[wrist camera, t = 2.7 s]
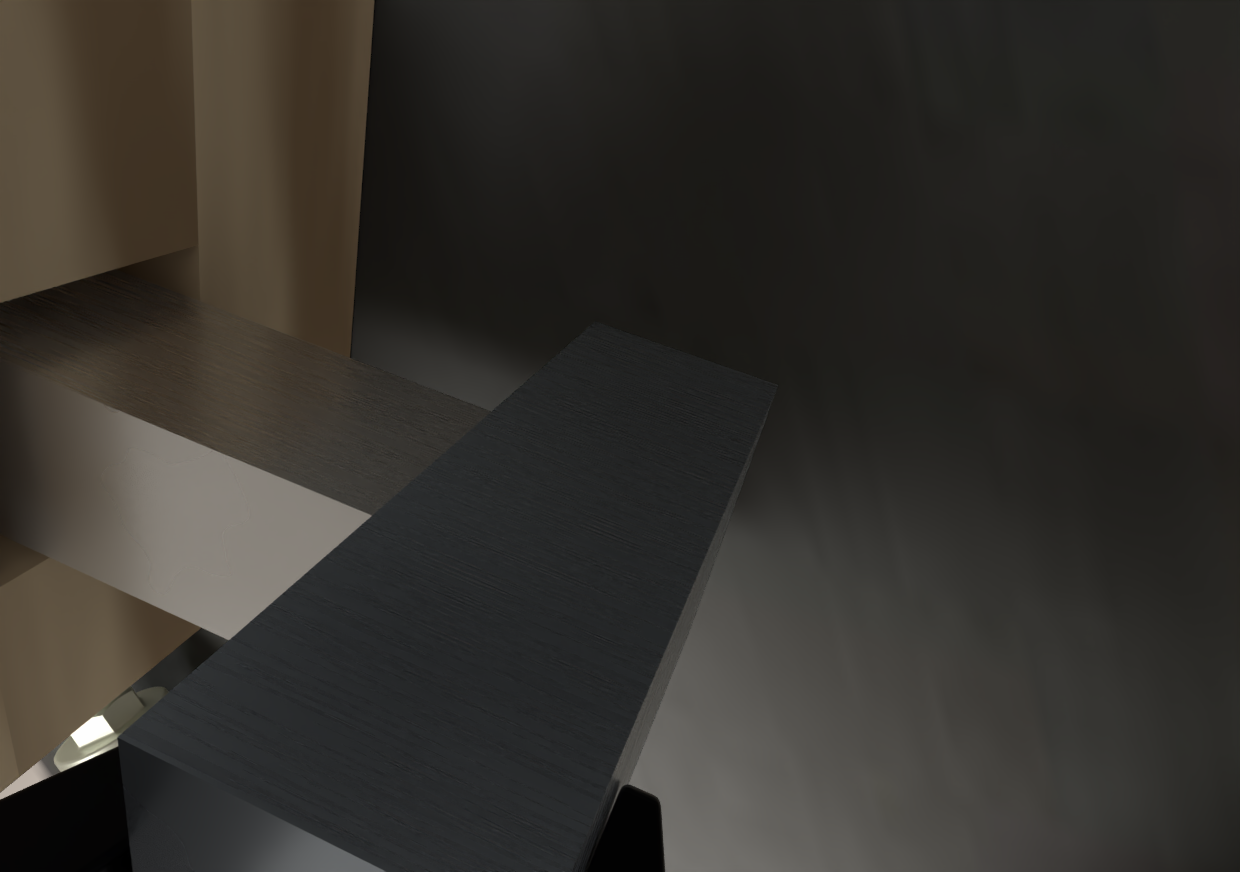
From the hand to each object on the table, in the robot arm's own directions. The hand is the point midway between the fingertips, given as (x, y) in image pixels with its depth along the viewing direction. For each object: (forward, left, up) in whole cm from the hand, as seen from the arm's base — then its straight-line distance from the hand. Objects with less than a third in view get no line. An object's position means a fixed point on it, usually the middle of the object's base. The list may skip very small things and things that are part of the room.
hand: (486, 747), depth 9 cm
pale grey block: (+7, 0, -6) cm, 9 cm away
